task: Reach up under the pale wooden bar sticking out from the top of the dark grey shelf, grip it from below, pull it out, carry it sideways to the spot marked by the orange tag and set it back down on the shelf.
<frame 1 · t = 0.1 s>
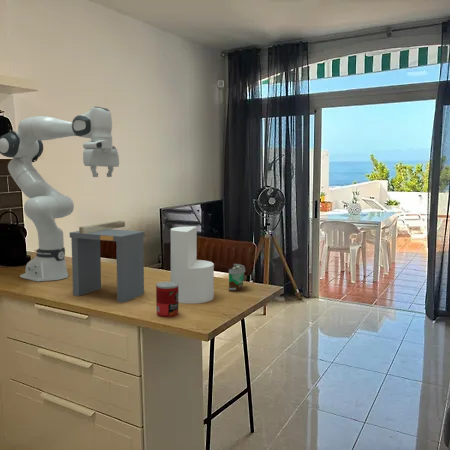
hand: (102, 177, 197), 48 cm above the table, tool pointing down, fingers open, 8 cm apart
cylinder: (192, 297, 183), on the table
bar: (103, 229, 190), point 26 cm above the table, touching shelf
food container: (238, 289, 196), on the table
canned food: (167, 314, 161), on the table
shelf: (108, 294, 186), on the table
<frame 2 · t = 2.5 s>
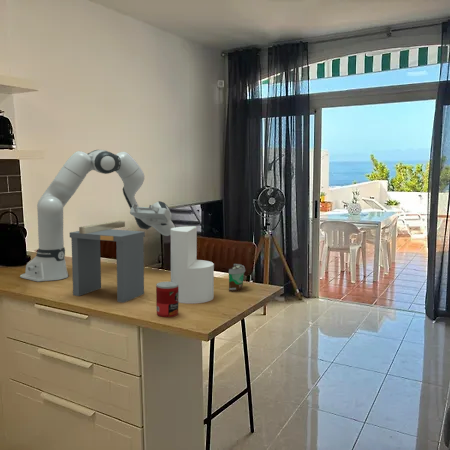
hand: (142, 206, 215), 34 cm above the table, tool pointing upward, fingers open, 8 cm apart
nothing on the table moved.
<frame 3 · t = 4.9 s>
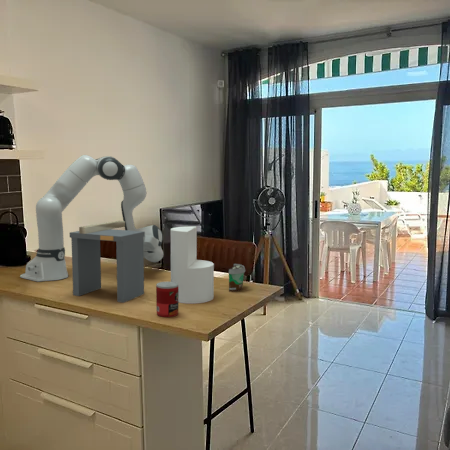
hand: (127, 233, 206), 22 cm above the table, tool pointing upward, fingers open, 8 cm apart
nothing on the table moved.
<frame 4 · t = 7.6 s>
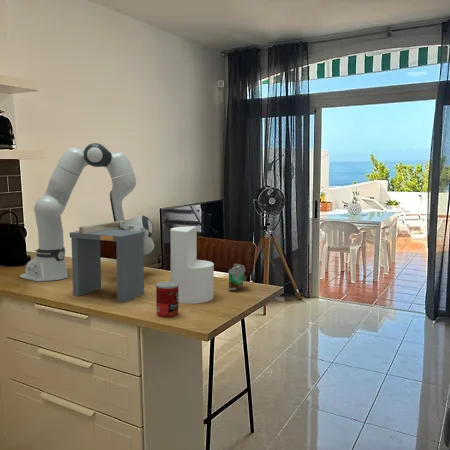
hand: (115, 223, 197), 28 cm above the table, tool pointing upward, fingers closed on bar, 3 cm apart
bar: (103, 229, 190), point 26 cm above the table, touching gripper, shelf
everything else where it was.
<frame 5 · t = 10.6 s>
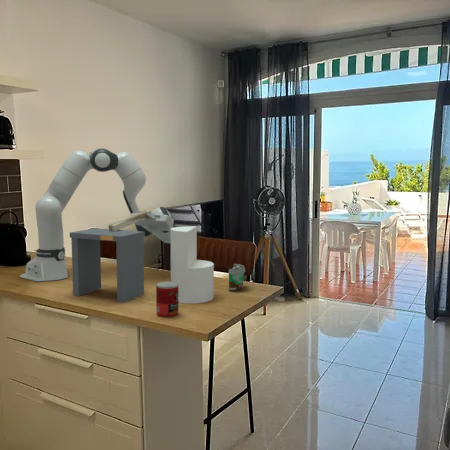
hand: (142, 212, 203), 32 cm above the table, tool pointing upward, fingers closed on bar, 3 cm apart
bar: (131, 222, 196), point 28 cm above the table, tilted 10°, touching gripper
everything else where it was.
when the fingers open (29 cm above the table, at t = 13.9 s): bar stays where it is, resting on shelf.
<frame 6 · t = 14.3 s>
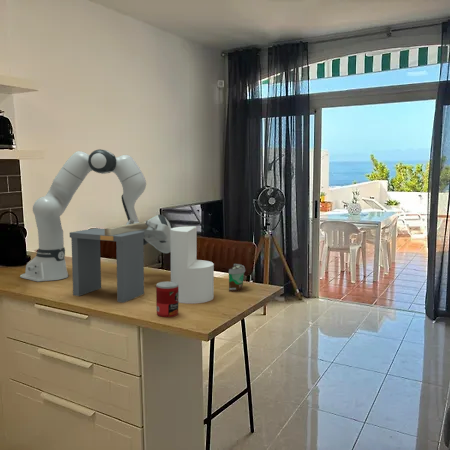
hand: (138, 221, 192), 29 cm above the table, tool pointing upward, fingers open, 7 cm apart
bar: (127, 231, 185), point 26 cm above the table, touching shelf
everything else where it was.
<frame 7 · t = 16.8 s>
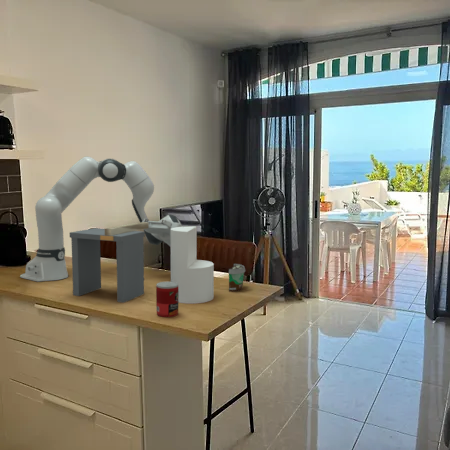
hand: (153, 220, 203), 29 cm above the table, tool pointing upward, fingers open, 8 cm apart
nothing on the table moved.
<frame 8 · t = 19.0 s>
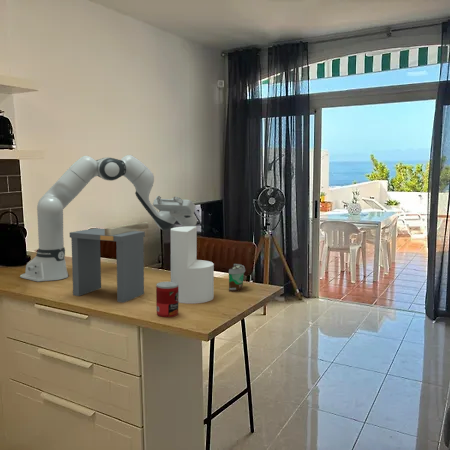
hand: (166, 197, 212), 38 cm above the table, tool pointing upward, fingers open, 8 cm apart
nothing on the table moved.
at the end: bar 0.5 cm from the target spot on the shelf, point 26.0 cm above the shelf's base; the gripper is holding nothing; bar touching shelf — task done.
